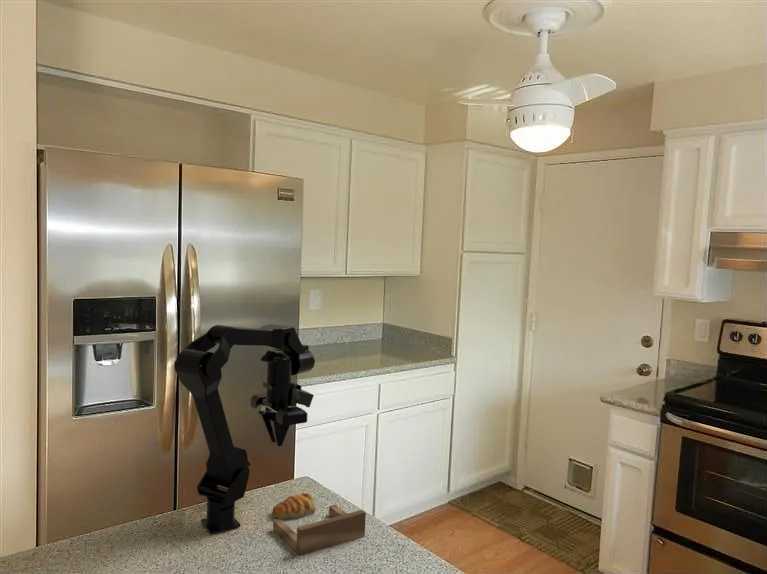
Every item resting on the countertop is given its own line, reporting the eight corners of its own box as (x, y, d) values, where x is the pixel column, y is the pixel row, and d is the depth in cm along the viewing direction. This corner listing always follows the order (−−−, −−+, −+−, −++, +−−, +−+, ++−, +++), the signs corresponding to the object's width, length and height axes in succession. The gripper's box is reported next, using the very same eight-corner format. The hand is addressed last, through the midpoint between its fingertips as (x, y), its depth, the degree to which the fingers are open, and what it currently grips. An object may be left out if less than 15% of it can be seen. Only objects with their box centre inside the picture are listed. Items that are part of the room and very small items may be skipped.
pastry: (281, 525, 125) (282, 508, 124) (265, 514, 130) (266, 497, 129) (318, 513, 131) (318, 497, 130) (301, 503, 136) (302, 487, 136)
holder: (273, 529, 122) (273, 506, 122) (334, 513, 131) (335, 491, 130) (299, 555, 112) (300, 530, 112) (364, 536, 121) (365, 512, 121)
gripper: (329, 383, 134) (326, 450, 135) (291, 368, 149) (289, 428, 150) (284, 388, 127) (282, 458, 128) (250, 372, 142) (248, 434, 143)
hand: (276, 444), depth 138 cm, fingers open, 3 cm apart
